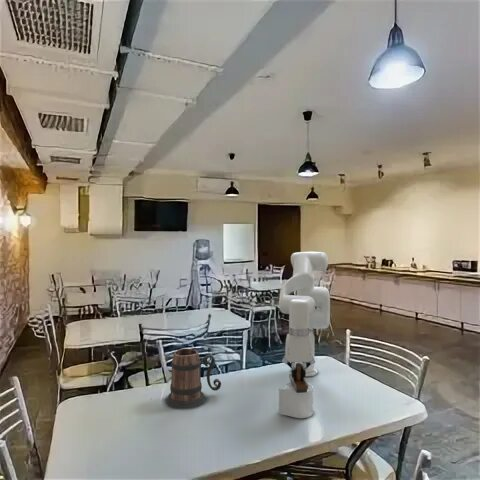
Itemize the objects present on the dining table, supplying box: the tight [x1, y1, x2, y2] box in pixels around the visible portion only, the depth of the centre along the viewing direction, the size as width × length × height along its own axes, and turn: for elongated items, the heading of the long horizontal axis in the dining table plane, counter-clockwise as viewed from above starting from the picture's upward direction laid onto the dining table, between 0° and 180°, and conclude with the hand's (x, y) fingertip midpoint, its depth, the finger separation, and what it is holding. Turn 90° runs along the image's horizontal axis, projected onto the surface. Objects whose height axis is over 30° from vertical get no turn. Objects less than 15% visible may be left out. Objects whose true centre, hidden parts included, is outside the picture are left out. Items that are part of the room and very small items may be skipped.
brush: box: [288, 363, 309, 393], centre depth 157 cm, size 11×4×9 cm, turn 7°
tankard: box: [165, 347, 222, 410], centre depth 170 cm, size 24×17×20 cm
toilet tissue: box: [278, 381, 314, 419], centre depth 158 cm, size 11×12×10 cm
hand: (298, 378), depth 157 cm, fingers closed on brush, 2 cm apart
